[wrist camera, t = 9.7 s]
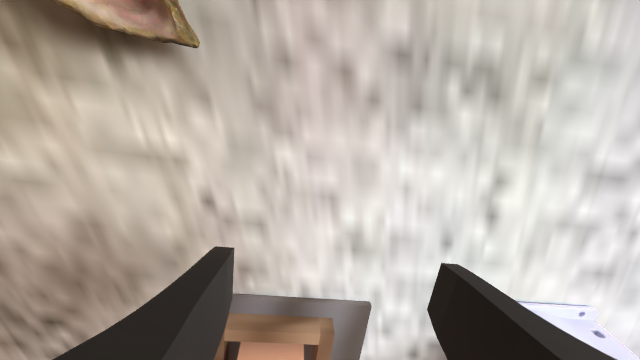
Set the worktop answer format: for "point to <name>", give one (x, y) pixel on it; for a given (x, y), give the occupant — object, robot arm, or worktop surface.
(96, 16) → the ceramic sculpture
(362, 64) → the worktop surface
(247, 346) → the keyed block
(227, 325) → the collar
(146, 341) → the robot arm
